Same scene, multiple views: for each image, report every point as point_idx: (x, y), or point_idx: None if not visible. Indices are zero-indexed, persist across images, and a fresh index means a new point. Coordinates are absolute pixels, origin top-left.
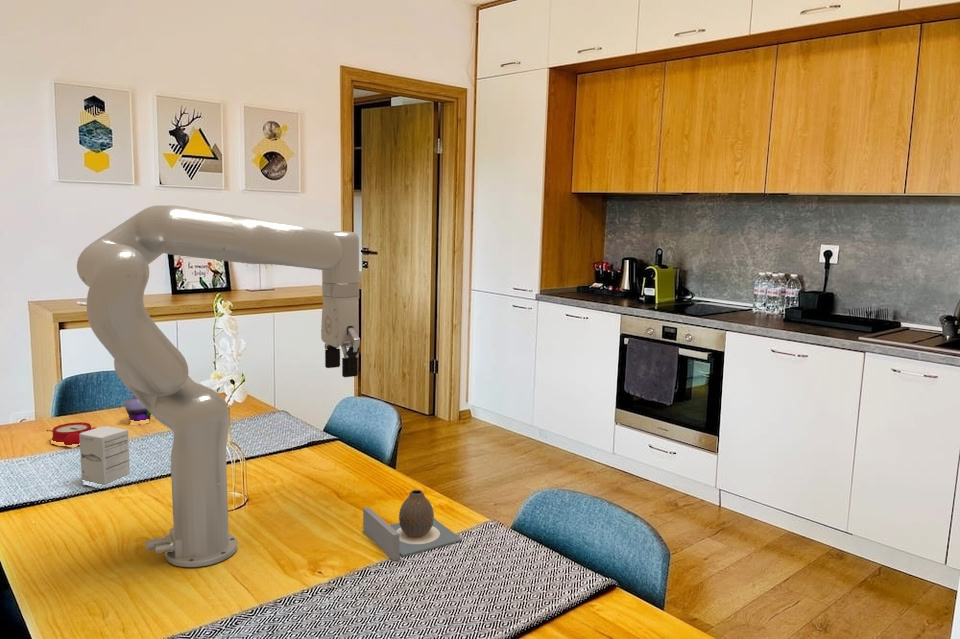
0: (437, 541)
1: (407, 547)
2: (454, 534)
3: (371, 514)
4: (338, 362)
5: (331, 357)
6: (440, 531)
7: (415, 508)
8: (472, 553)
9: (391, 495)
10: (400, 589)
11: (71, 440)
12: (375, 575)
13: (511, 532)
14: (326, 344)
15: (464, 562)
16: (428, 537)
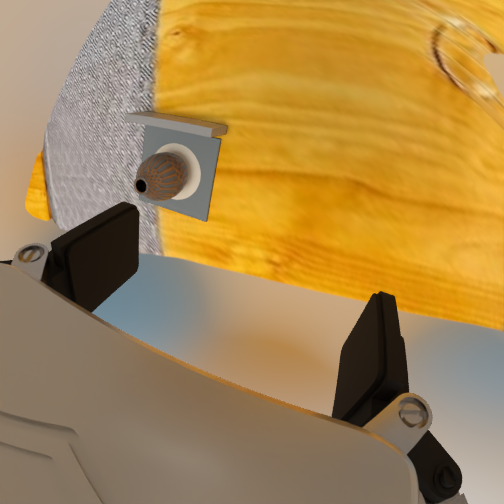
0: None
1: (155, 139)
2: (151, 202)
3: (187, 125)
4: (343, 360)
5: (360, 357)
6: None
7: (139, 168)
8: (118, 187)
9: (302, 239)
10: (107, 88)
11: None
12: (136, 79)
13: None
14: (394, 428)
15: (110, 168)
16: None
